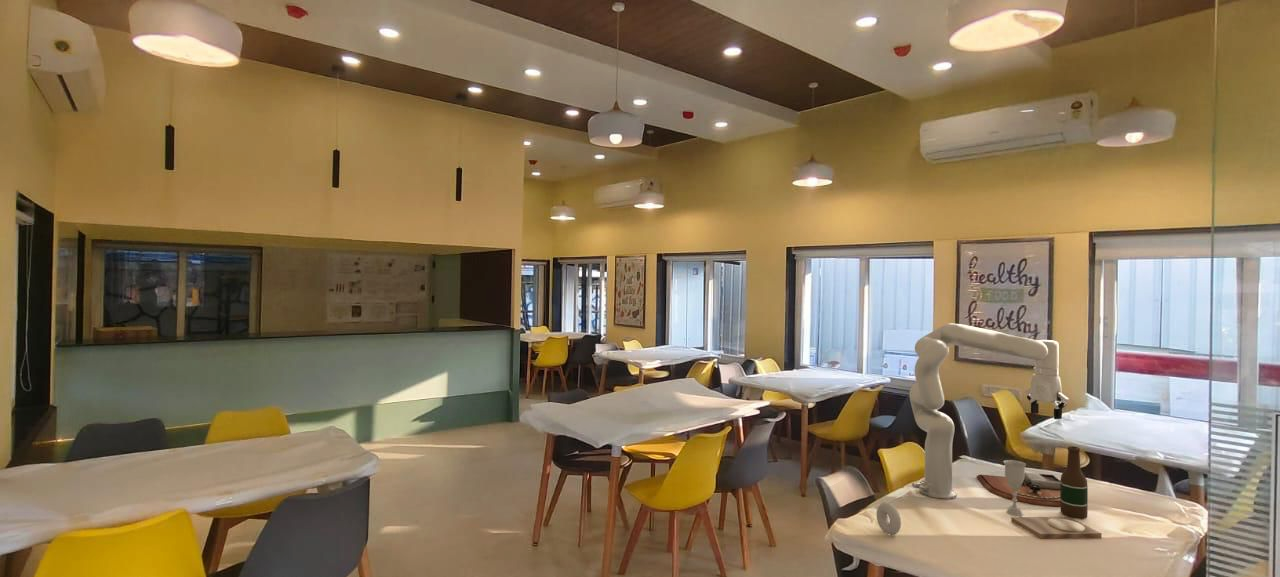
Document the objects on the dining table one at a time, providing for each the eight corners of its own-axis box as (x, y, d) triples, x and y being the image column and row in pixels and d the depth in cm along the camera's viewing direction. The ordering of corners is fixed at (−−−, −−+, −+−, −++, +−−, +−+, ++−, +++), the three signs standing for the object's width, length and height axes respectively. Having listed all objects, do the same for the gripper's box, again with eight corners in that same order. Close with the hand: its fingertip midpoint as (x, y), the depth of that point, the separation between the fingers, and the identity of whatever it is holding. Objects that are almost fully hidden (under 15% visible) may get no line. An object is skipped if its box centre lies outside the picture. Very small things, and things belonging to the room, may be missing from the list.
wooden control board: (1061, 473, 241) (1094, 498, 212) (1061, 486, 241) (1094, 512, 212) (976, 466, 250) (996, 489, 221) (976, 478, 250) (996, 503, 221)
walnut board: (1040, 538, 188) (1040, 532, 188) (1011, 521, 202) (1011, 515, 202) (1101, 538, 188) (1101, 531, 188) (1068, 520, 202) (1068, 514, 202)
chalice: (1006, 508, 214) (1006, 458, 214) (1028, 513, 209) (1028, 462, 209) (1000, 513, 209) (1000, 462, 209) (1023, 519, 204) (1023, 467, 204)
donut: (903, 539, 187) (903, 508, 187) (894, 540, 186) (894, 509, 186) (883, 527, 196) (883, 497, 196) (874, 528, 195) (874, 498, 195)
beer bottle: (1058, 515, 207) (1058, 447, 208) (1062, 509, 213) (1062, 443, 213) (1086, 521, 202) (1086, 451, 202) (1088, 515, 208) (1088, 447, 208)
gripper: (1019, 369, 235) (1018, 412, 235) (1060, 375, 219) (1059, 421, 219) (1034, 368, 237) (1033, 411, 237) (1075, 375, 221) (1075, 420, 221)
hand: (1045, 416), depth 228 cm, fingers open, 9 cm apart
